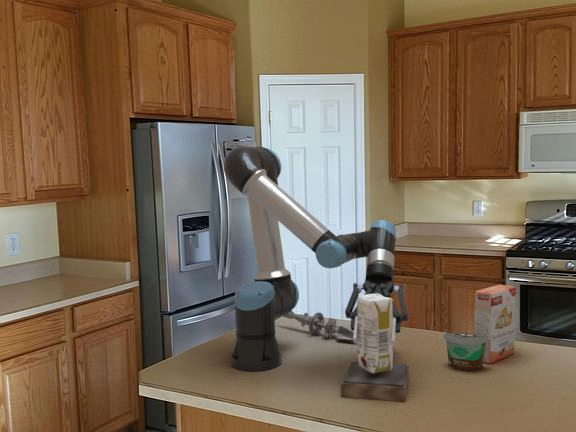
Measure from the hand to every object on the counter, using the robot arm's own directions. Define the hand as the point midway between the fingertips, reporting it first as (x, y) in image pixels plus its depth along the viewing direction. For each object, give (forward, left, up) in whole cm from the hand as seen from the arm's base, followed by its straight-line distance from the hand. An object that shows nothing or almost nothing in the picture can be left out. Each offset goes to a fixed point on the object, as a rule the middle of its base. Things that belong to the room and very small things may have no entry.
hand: (374, 341), depth 156 cm
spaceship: (-25, +48, -13) cm, 56 cm away
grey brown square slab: (0, +3, -13) cm, 14 cm away
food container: (+23, +22, -13) cm, 35 cm away
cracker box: (+32, +34, -13) cm, 49 cm away
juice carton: (0, +3, -8) cm, 8 cm away
